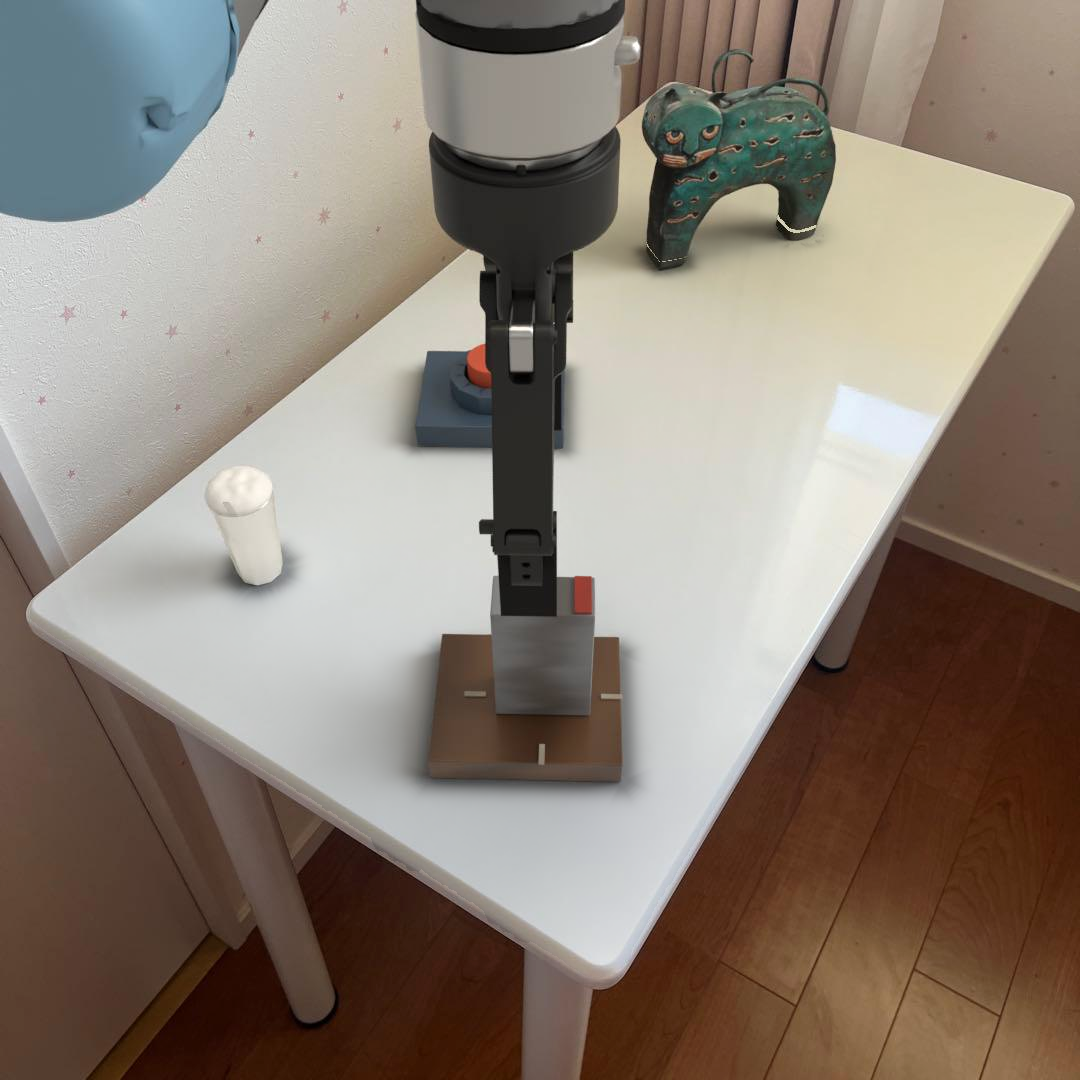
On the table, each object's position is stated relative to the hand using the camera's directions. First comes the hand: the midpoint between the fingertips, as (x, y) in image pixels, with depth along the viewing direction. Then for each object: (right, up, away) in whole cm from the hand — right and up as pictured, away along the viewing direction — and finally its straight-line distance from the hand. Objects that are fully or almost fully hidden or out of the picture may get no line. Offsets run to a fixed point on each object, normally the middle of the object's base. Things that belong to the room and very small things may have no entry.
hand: (533, 511), depth 58 cm
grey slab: (+1, -12, +13) cm, 17 cm away
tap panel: (0, -13, +14) cm, 19 cm away
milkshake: (-20, -4, +23) cm, 31 cm away
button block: (-4, +10, +36) cm, 37 cm away
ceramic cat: (+19, +28, +53) cm, 63 cm away
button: (-4, +12, +33) cm, 35 cm away
